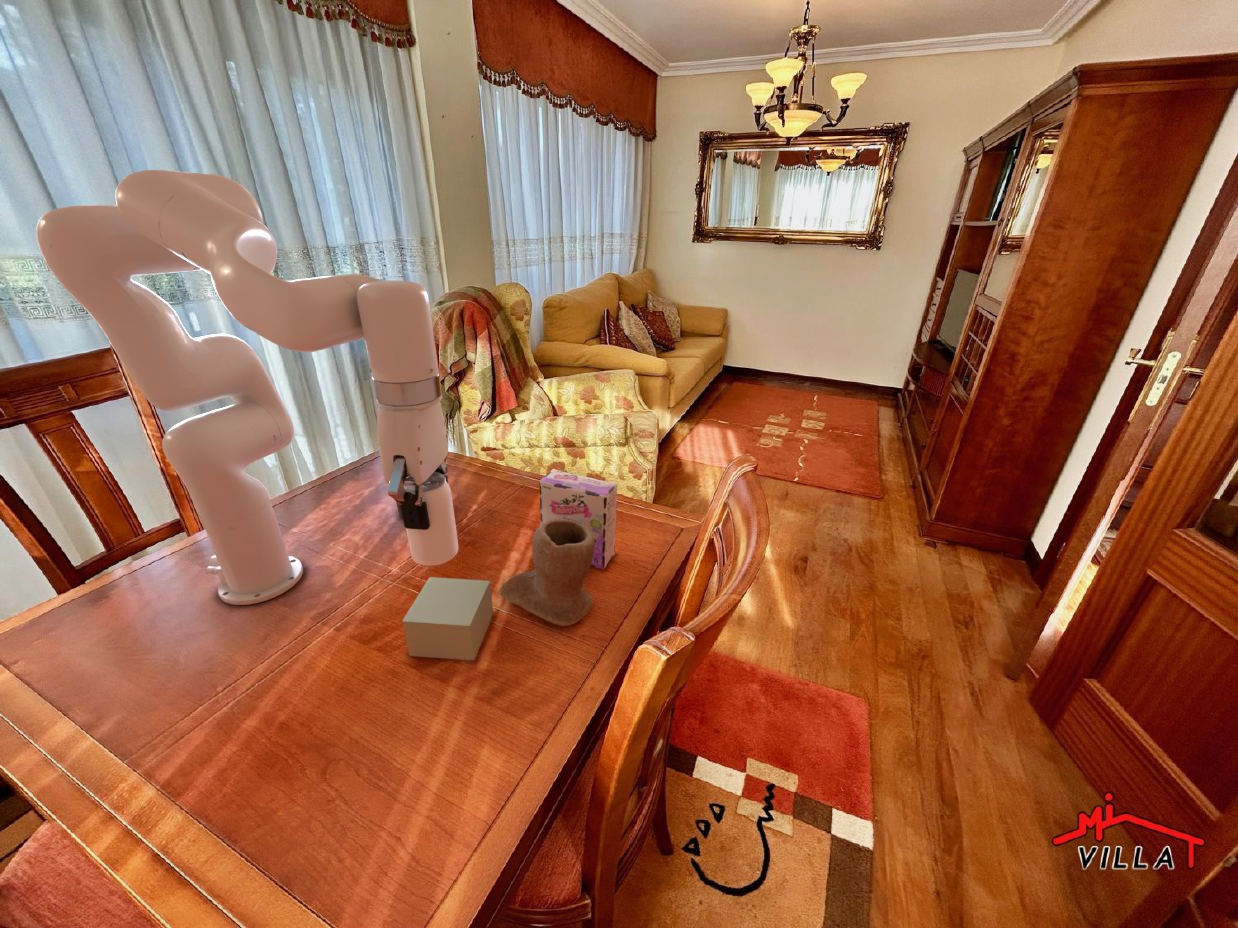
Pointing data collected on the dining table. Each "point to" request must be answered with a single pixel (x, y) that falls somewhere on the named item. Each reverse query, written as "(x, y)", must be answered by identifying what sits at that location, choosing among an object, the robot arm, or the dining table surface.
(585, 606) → the stone cup
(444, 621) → the block
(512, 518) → the dining table surface
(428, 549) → the can
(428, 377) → the robot arm
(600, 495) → the candy box
